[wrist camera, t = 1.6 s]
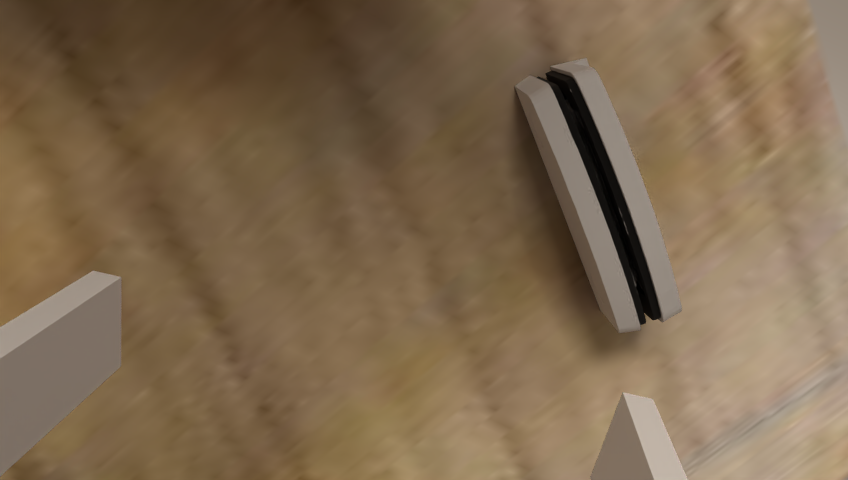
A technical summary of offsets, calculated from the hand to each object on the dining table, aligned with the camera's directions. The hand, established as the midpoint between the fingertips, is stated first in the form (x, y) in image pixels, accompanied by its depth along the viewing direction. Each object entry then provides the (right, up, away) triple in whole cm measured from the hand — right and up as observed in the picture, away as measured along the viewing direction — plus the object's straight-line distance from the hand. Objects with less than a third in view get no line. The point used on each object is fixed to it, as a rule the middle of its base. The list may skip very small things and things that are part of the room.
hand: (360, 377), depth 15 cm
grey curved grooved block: (+12, +7, +24) cm, 27 cm away
